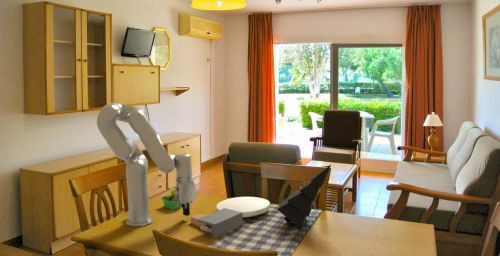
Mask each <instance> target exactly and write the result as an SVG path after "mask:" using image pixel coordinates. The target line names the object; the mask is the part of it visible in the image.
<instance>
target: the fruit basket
mask: <svg viewBox="0 0 500 256" xmlns="http://www.w3.org/2000/svg"><path fill="white" fill-rule="evenodd" d="M175 190H176V185H175V186H174V187H173V188H172V189H171V190H170V194H168V195H165V196H162V197H161V200H162V203H163V206H164V207H165V208H167V209H170V210H173V211H175V210H179V209H182V207H181V206H177V202H176V197H175Z"/></svg>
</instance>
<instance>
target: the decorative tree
mask: <svg viewBox="0 0 500 256" xmlns="http://www.w3.org/2000/svg"><path fill="white" fill-rule="evenodd" d="M331 167H332V164H329V165H327V167H325V168H324V169H323V170H322V171H320V172H319V173H317V174H316V175H314V176H313V177H311V180H310V181H309V182H308V183H306V184H305V185H303V186H302V187H301V189H299V190H295V191H293V192H292V193H290V195H289V196H288V197H287V198H286V199H283V200H282V201H281V202H280V203H279V206H278V208H277V209H276V210H277V211H278V212H279V213H281V214H282V215H283V216H284V218H283V219H284V221H285V223H287V224H291V223H292V224H294V225H295V226H297V228H299V229H301V228H303V229H304V226H305V225H306V222H305V221H307V219H308V218H309V217H310V215H311V212H312V210H313V203H314V202H315V200H316V198H317V195H318V193H319V191H320V189H321V188H322V187H323V185H324V183H325V180H327V179H326V178H327V176H328V174H329V171H330V170H331V169H330V168H331ZM304 224H305V225H304Z"/></svg>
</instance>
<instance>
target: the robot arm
mask: <svg viewBox="0 0 500 256" xmlns="http://www.w3.org/2000/svg"><path fill="white" fill-rule="evenodd" d="M96 118H97V119H96V126H97V128H98V131H99V132H100V134H101V135H102V137H103V139H104V140H105V141H106V143H107V145H108V147H109V148H110V149H111V150H112V152H113V153H114V155H115V157H116V158H117V159H119V160H123V161H124V162H125V163H126V166H125V177H126V188H127V190H126V191H127V206H128V211H127V212H126V213H125V215H126V216H127V217H128V218H127V220H125V224H126V226H128V227H134V228H135V227H137V228H138V227H144V226H148V225H150V224H152V222H153V217H152V216H150V206H149V189H148V186H149V185H148V173H147V172H148V171H147V170H148V168H149V162H148V159H147V157H146V155H145V154H144V153H143V151H142V150H141V148H140V147H139V145H138V144H137V143H136V141H135V140H133V139H132V138H130V137H128V136H126V134H124V132H123V131H122V129H121V128H120V127H119V126H118V124H117V121H119V122H122V123H123V122H124V123H128V124H129V126H130V128H131V129H132V130H133V132H134V133H135V135H136V136H137V137H138V139H139V140H140V142H141V143H142V144H143V146H144V148H145V149H146V152H147V153H148V155H149V157H150V158H151V160H152V161H153V162H154V164H155V165H156V167H157V168H158V169H159V170H160V172H162V173H165V174H170V173H172V172H173V171H174V170H175V173H176V175H175V176H176V177H175V178H176V179H175V182H176V183H175V186H176V190H175V197H176V202H177V206H181V209H182V215H183V216H185V217H189V216H190V215H191V211H190V209H191V208H190V207H191V205H192V203H193V202H195V200H197V199H196V198H197V192H196V184H195V182H194V180H193V173H192V170H193V169H192V156H191V155H190V154H189V153H178V154H177V153H168V151H167V150H166V149H165V147H164V145H163V143H162V141H161V136H160V134H159V133H158V131H157V130H156V129H155V127H154V126H153V124H152V123H151V122H150V120H149V119H148V117H147V113H146V111H145V110H144V109H143V108H141V107H135V106H132V105H128V104H124V103H120V102H110V103H108V104H105V105H103V106H102V108H101V109H100V111H99V113H98V114H97V117H96Z"/></svg>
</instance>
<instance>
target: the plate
mask: <svg viewBox="0 0 500 256" xmlns="http://www.w3.org/2000/svg"><path fill="white" fill-rule="evenodd" d="M224 208H226V209H230V210H234V211H239V212H242V218H250V217H256V216H259V215H262V214H264V213H266V212H267V211H269V209H270V208H271V202H270V201H269V200H268V199H266V198H262V197H256V196H237V197H231V198H227V199H224V200H222V201H220V202H218V203H217V204H216V205H215V212H216V211H219V210H221V209H224Z"/></svg>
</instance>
